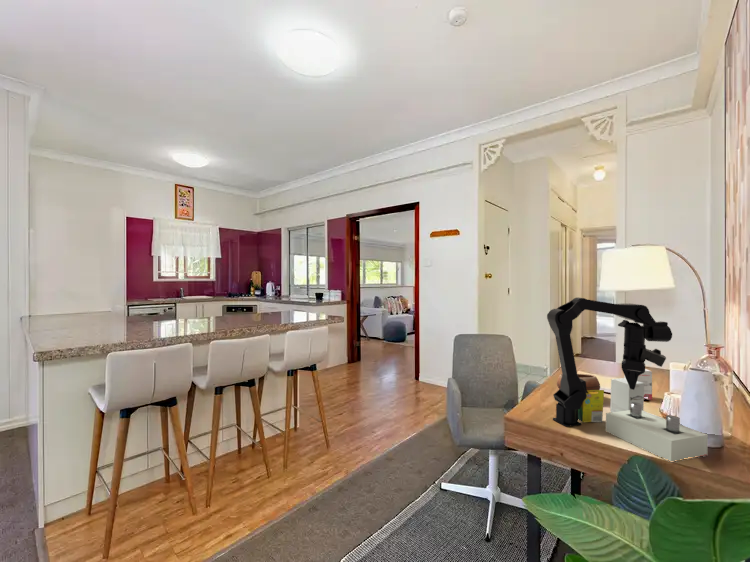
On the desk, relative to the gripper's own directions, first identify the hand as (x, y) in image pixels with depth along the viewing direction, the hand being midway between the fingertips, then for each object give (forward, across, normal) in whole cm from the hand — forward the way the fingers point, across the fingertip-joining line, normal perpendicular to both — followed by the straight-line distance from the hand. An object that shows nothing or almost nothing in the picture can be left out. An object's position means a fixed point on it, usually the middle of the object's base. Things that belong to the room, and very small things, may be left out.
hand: (632, 386), depth 122 cm
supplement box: (+14, +10, +1) cm, 17 cm away
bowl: (+14, +20, +18) cm, 31 cm away
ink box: (+13, +35, -2) cm, 38 cm away
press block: (+13, -12, -6) cm, 19 cm away
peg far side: (+9, -16, -10) cm, 21 cm away
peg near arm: (+9, -9, -1) cm, 13 cm away
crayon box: (+14, -5, +12) cm, 19 cm away
